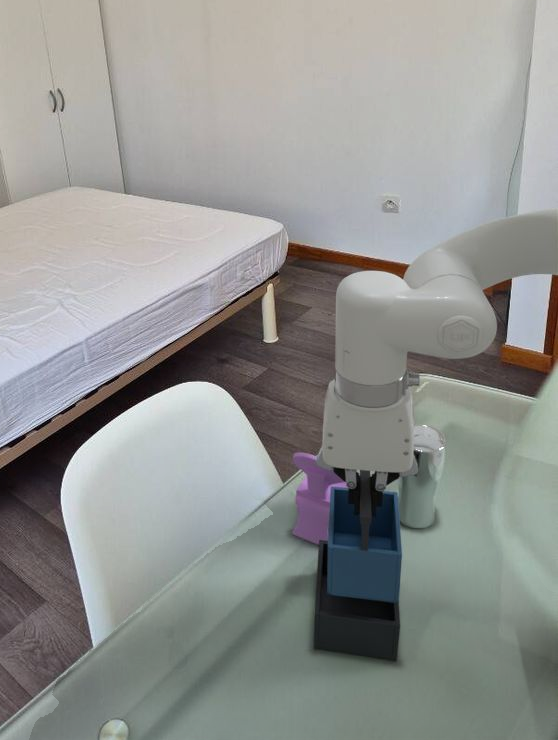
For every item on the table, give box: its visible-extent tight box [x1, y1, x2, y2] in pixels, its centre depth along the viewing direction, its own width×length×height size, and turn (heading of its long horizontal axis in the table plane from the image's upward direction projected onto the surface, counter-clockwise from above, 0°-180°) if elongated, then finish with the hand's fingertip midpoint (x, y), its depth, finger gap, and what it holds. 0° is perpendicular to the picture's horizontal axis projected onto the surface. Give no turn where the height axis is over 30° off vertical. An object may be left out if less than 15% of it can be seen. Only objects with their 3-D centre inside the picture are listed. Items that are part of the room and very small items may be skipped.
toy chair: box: [291, 451, 348, 546], centre depth 104 cm, size 8×9×15 cm
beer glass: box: [396, 423, 447, 529], centre depth 104 cm, size 7×7×15 cm
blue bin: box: [327, 470, 403, 604], centre depth 85 cm, size 8×10×13 cm
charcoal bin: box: [313, 540, 401, 663], centre depth 91 cm, size 10×12×7 cm
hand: (364, 507), depth 84 cm, fingers closed on blue bin, 1 cm apart
